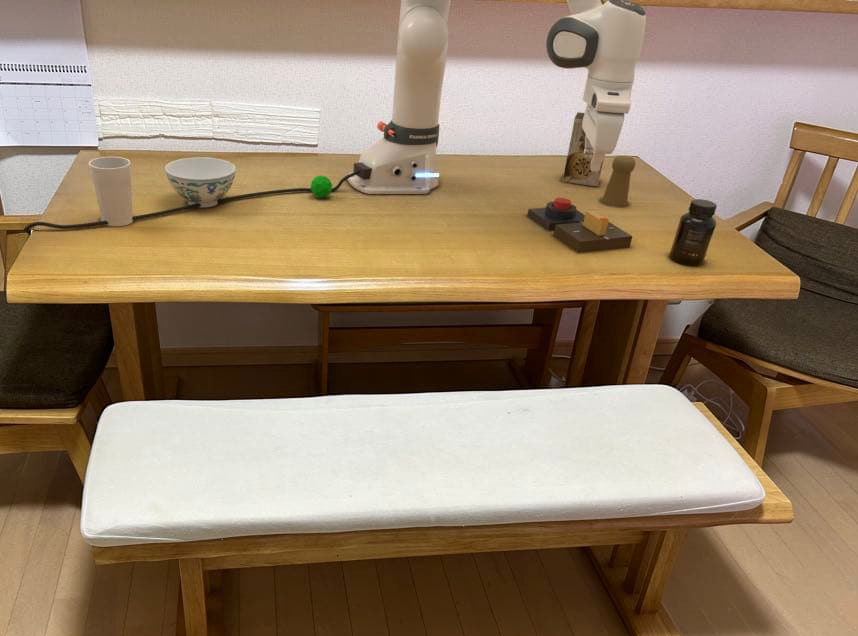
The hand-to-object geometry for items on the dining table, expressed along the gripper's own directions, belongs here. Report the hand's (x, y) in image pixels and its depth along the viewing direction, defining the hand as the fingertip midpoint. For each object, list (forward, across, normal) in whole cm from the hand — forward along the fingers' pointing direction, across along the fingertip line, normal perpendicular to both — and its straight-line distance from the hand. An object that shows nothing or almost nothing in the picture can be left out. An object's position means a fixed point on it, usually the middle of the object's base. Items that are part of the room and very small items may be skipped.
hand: (590, 163), depth 156 cm
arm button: (+12, -6, -3) cm, 14 cm away
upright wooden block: (+12, +5, +3) cm, 14 cm away
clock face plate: (+15, +5, +3) cm, 16 cm away
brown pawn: (+15, -22, +12) cm, 30 cm away
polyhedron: (+15, -8, -58) cm, 60 cm away
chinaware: (+15, +3, -83) cm, 84 cm away
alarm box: (+15, -6, -3) cm, 16 cm away
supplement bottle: (+15, +10, +22) cm, 28 cm away
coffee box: (+15, -37, +6) cm, 40 cm away
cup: (+15, +18, -96) cm, 99 cm away
